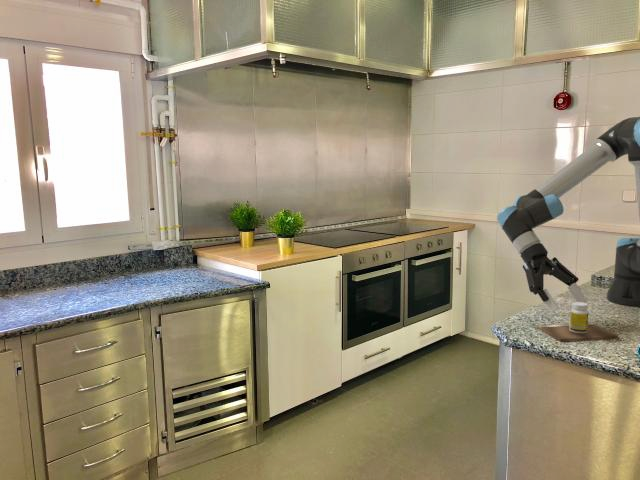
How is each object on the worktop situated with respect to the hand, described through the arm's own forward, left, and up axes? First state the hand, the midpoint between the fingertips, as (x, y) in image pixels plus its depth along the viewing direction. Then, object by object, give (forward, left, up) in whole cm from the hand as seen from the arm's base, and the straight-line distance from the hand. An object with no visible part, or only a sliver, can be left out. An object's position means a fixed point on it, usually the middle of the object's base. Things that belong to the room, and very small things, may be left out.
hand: (569, 306), depth 153 cm
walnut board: (-1, +2, -7) cm, 8 cm away
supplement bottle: (-1, +3, -7) cm, 8 cm away
